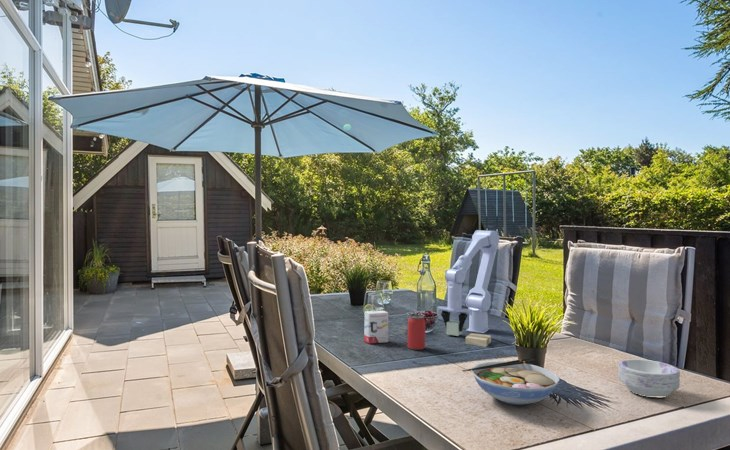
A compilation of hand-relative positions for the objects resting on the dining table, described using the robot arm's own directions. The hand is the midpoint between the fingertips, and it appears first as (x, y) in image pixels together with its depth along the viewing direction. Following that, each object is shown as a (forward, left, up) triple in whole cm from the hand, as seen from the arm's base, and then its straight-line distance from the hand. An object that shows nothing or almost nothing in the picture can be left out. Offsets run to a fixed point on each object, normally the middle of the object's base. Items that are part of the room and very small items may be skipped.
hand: (454, 330), depth 202 cm
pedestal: (+6, +12, -3) cm, 14 cm away
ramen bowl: (+60, +37, -3) cm, 71 cm away
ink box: (+26, -23, -3) cm, 35 cm away
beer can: (+26, -6, -3) cm, 27 cm away
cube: (0, 0, -2) cm, 2 cm away
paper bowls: (+34, +69, -3) cm, 77 cm away
